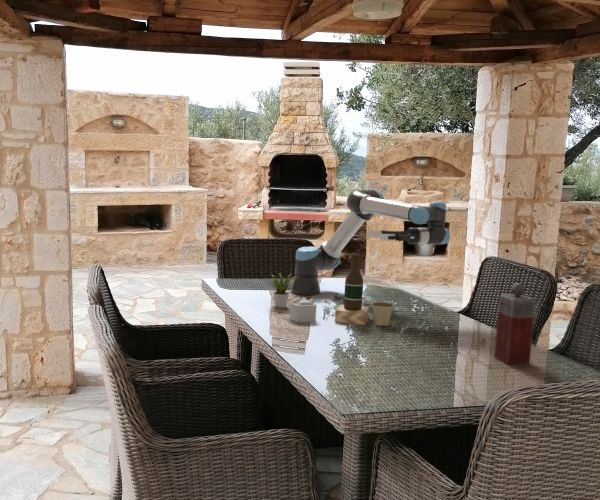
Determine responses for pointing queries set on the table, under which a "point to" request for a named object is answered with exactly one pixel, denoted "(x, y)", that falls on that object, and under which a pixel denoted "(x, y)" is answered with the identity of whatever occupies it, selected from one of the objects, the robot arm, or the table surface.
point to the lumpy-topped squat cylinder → (303, 310)
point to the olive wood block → (352, 315)
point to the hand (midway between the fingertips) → (374, 235)
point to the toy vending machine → (514, 327)
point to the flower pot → (382, 313)
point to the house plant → (281, 291)
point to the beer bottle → (353, 286)
